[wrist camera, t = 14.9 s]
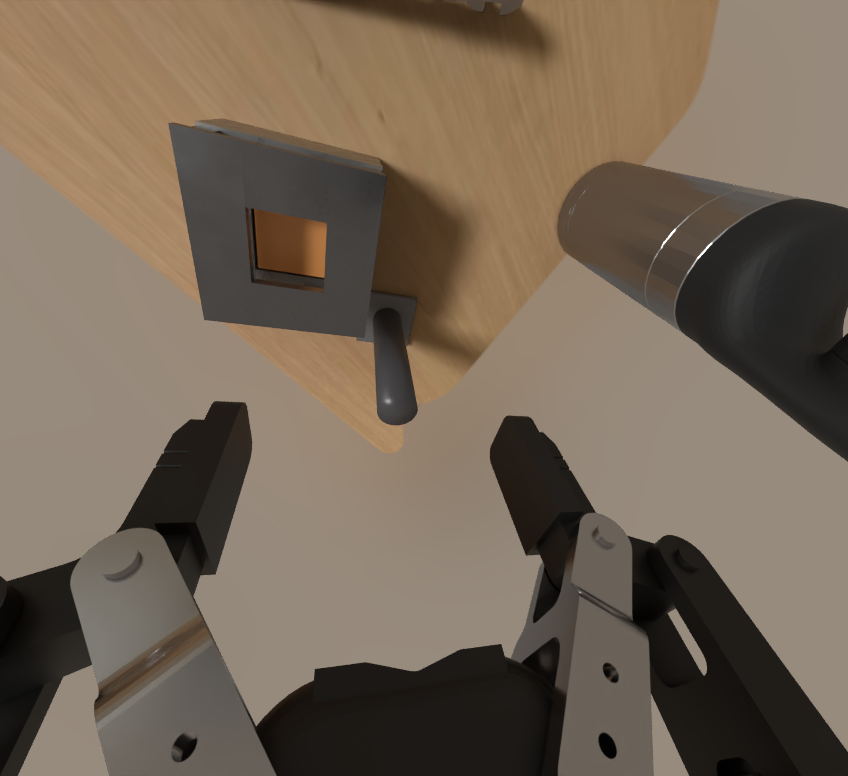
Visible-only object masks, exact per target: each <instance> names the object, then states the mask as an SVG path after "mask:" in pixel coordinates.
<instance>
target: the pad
mask: <svg viewBox="0 0 848 776" xmlns="http://www.w3.org/2000/svg"><path fill="white" fill-rule="evenodd" d="M416 305H417V298H414V297H407V296H401V295H394V294H387V293H381V292H374V291H371V295H370V303H369V310H368V317H367V324H366V332H365V338H359V337H357V341H365V342H374V337H373V317H374V315H375V313H376V312H377V311H378V310H380V309H383V308H391V309H394V310H395V311H397V312H398V313H399V315H400V317H401V322H402V327H403V333H404V338H405V343H406V346H407V344H408V340H409V336H410V331H411V327H412V322H413V318H414V314H415V309H416Z"/></svg>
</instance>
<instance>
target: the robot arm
mask: <svg viewBox="0 0 848 776" xmlns="http://www.w3.org/2000/svg"><path fill="white" fill-rule="evenodd" d="M558 237H559V241H560V244H561V246H562V248H563V249H564V251H566V252H567V253H568V254H569V255H570V256H571V257H573V258H574V259H576V260H577V261H579V262H580V263H582V264H583V265H585V266H586V267H587V268H588V269H590V270H592V271H593V272H594V273H596V274H597V275H599V276H600V277H602V278H603V279H605V280H606V281H607V282H609V283H610V284H612V285H614V286H615V287H616V288H618V289H619V290H621V291H622V292H623V293H625V294H626V295H628V296H629V297H631V298H632V299H634V300H635V301H637V302H638V303H640V304H641V305H643V306H644V307H645V308H647V309H648V310H650V311H651V312H653V313H654V314H656V315H657V316H659V317H661V318H662V319H663V320H665V321H666V322H668V323H669V324H671V325H672V326H673V327H675V328H676V329H678V330H679V331H681V332H682V333H684V334H685V335H686V336H688V337H689V338H690V339H692V340H693V341H695V342H696V343H698V344H699V345H700V346H701V347H702V348H703V349H704V350H705V351H706V352H707V353H708V354H709V355H711V356H712V357H713V358H714V359H715V360H717V361H718V362H720V363H721V364H722V365H724V366H725V367H727V368H728V369H730V370H731V371H732V372H734V373H735V374H737V375H738V376H739V377H741V378H742V379H743V380H744V381H746V382H747V383H748V384H749V385H751V386H752V387H753V388H755V389H756V390H757V391H759V392H760V393H761V394H763V395H764V396H765V397H766V398H767V399H769V400H770V401H771V402H772V403H774V404H775V405H776V406H777V407H778V408H780V409H781V410H782V411H784V412H785V413H786V414H787V415H788V416H790V417H791V418H792V419H793V420H795V421H796V422H797V423H798V424H800V425H801V426H802V427H803V428H804V429H806V430H807V431H808V432H809V433H811V434H812V435H813V436H815V437H816V438H817V439H819V440H820V441H821V442H822V443H824V444H825V445H826V446H828V447H829V448H830V449H832V450H833V451H834V452H836V453H837V454H838V455H840V456H841V457H842V458H844V459H845V460H846V461H848V334H846V335H845V336H844V337H843V324H844V318H845V314H846V311H847V307H848V209H847V208H844V207H841V206H837V205H833V204H829V203H824V202H819V201H814V200H809V199H803V198H798V197H793V196H789V195H784V194H779V193H774V192H769V191H764V190H757V189H753V188H748V187H743V186H738V185H733V184H728V183H723V182H718V181H713V180H709V179H704V178H699V177H694V176H689V175H684V174H679V173H674V172H670V171H665V170H660V169H655V168H651V167H646V166H642V165H637V164H632V163H627V162H609V163H605V164H602V165H600V166H598V167H596V168H594V169H593V170H591V171H590V172H588V173H587V174H586V175H584V176H583V177H582V178H581V179H580V180H579V181H578V182H577V183H576V184H575V186H574V187H573V188H572V190H571V191H570V192H569V194H568V196H567V197H566V199H565V201H564V203H563V205H562V208H561V211H560V214H559V219H558ZM251 452H252V437H251V430H250V424H249V418H248V411H247V406H246V404H245V403H243V402H219V401H215V402H214V403H213V404H212V405H211V407H210V409H209V411H208V413H207V415H206V417H205V419H204V420H193V419H191V420H189V421H188V422H187V423H186V424H184V425H183V426H182V427H181V428H179V429H178V430H177V431H176V432H175V433H174V434H173V435H172V437H171V439H170V441H169V442H168V444H167V446H166V448H165V449H164V454H162V455H161V457H160V458H159V460H158V462H157V464H156V468H154V469H153V471H152V473H151V475H150V476H149V478H148V480H147V482H146V483H145V485H144V487H143V489H142V491H141V492H140V494H139V496H138V498H137V499H136V501H135V503H134V505H133V506H132V508H131V510H130V512H129V514H128V515H127V517H126V519H125V521H124V522H123V524H122V525H121V527H120V528H119V530H118V531H117V532H116V533H115V534H113V535H110V536H109V537H107V538H105V539H103V540H102V541H100V542H99V543H97V544H96V545H94V546H93V547H92V548H91V549H89V550H88V551H87V552H86V554H84V555H83V557H82V558H79V559H77V560H75V561H72V562H69V563H67V564H64V565H60V566H57V567H54V568H50V569H47V570H44V571H41V572H37V573H34V574H30V575H27V576H24V577H20V578H17V579H13V580H10V581H6V580H4V579H3V578H2V577H1V576H0V776H18V774H19V772H20V769H21V767H22V765H23V763H24V761H25V759H26V756H27V754H28V752H29V750H30V748H31V746H32V743H33V741H34V739H35V737H36V735H37V733H38V730H39V728H40V726H41V724H42V722H43V720H44V717H45V715H46V713H47V710H48V709H49V707H50V704H51V702H52V700H53V698H54V695H55V693H56V691H57V689H58V687H59V685H60V683H61V680H62V678H63V676H66V675H68V674H71V673H73V672H75V671H78V670H80V669H82V668H85V667H88V666H90V665H93V669H94V672H95V676H96V679H97V683H98V688H99V695H98V698H97V699H96V700H95V704H94V715H95V721H96V726H97V731H98V735H99V738H100V742H101V746H102V750H103V753H104V757H105V761H106V765H107V769H108V772H109V776H653V748H652V747H653V746H652V718H651V694H652V696H653V698H654V701H655V703H656V705H657V707H658V709H659V711H660V713H661V716H662V718H663V720H664V722H665V724H666V727H667V729H668V731H669V733H670V735H671V737H672V740H673V742H674V744H675V746H676V748H677V750H678V753H679V755H680V757H681V759H682V761H683V763H684V765H685V768H686V770H687V772H688V774H689V776H848V752H847V750H846V749H845V748H844V746H843V745H842V743H841V742H840V741H839V739H838V738H837V737H836V735H835V734H834V733H833V731H832V730H831V728H830V727H829V726H828V724H827V723H826V722H825V720H824V719H823V718H822V716H821V715H820V713H819V712H818V711H817V709H816V708H815V707H814V705H813V704H812V702H811V701H810V700H809V698H808V697H807V696H806V694H805V693H804V691H803V690H802V689H801V687H800V686H799V685H798V683H797V682H796V681H795V679H794V678H793V676H792V675H791V674H790V672H789V671H788V669H787V668H786V667H785V665H784V664H783V663H782V661H781V660H780V659H779V657H778V656H777V654H776V653H775V652H774V650H773V649H772V648H771V646H770V645H769V643H768V642H767V641H766V639H765V638H764V637H763V635H762V634H761V632H760V631H759V630H758V628H757V627H756V626H755V624H754V623H753V622H752V620H751V619H750V617H749V616H748V615H747V614H746V612H745V611H744V609H743V608H742V606H741V605H740V604H739V603H738V601H737V600H736V598H735V597H734V595H733V594H732V593H731V592H730V590H729V589H728V587H727V586H726V584H725V583H724V582H723V580H722V579H721V578H720V576H719V575H718V573H717V572H716V571H715V570H714V568H713V567H712V565H711V564H710V563H709V561H708V560H707V559H706V558H705V556H704V555H703V554H702V553H701V552H700V551H699V550H698V549H697V548H696V547H695V546H693V545H692V544H691V543H689V542H688V541H685V540H684V539H682V538H679V537H677V536H673V535H666V536H663V537H662V538H661V539H660V540H658V541H657V542H656V543H655V544H654V543H650V542H647V541H643V540H640V539H636V538H633V537H630V536H627V535H626V533H625V532H624V531H623V529H621V527H620V526H619V525H618V524H617V523H615V522H614V521H613V520H611V519H610V518H608V517H606V516H604V515H601V514H598V513H596V512H595V510H594V509H593V507H592V506H591V504H590V502H589V500H588V499H587V497H586V495H585V494H584V492H583V490H582V489H581V487H580V485H579V484H578V482H577V480H576V479H575V477H574V475H573V473H572V472H571V471H570V470H569V467H568V465H567V463H566V462H565V460H563V456H562V455H561V453H560V451H559V450H558V448H557V446H556V445H555V444H554V442H552V441H551V440H550V439H549V438H548V437H547V436H546V435H545V434H544V433H542V432H539V431H538V429H537V427H536V425H535V424H534V422H533V420H532V419H531V418H530V417H525V416H506V417H505V418H504V420H503V422H502V424H501V426H500V428H499V430H498V433H497V435H496V437H495V439H494V441H493V443H492V445H491V448H490V461H491V465H492V467H493V470H494V472H495V475H496V478H497V480H498V483H499V486H500V488H501V491H502V493H503V496H504V499H505V502H506V504H507V507H508V509H509V512H510V515H511V517H512V520H513V523H514V525H515V528H516V531H517V533H518V536H519V538H520V541H521V544H522V546H523V549H524V551H525V554H526V555H540V556H541V558H542V561H543V562H542V564H541V565H540V567H539V571H538V575H537V579H536V583H535V587H534V591H533V596H532V600H531V604H530V608H529V612H528V617H527V620H526V624H525V627H524V630H523V632H522V634H521V636H520V638H519V640H518V641H517V643H516V646H515V649H514V651H513V654H512V657H511V659H510V658H507V657H505V656H504V652H503V649H502V645H501V644H498V645H491V646H483V647H476V648H468V649H462V650H458V651H456V652H455V653H453V654H451V655H449V656H447V657H445V658H443V659H441V660H439V661H437V662H435V663H433V664H431V665H429V666H427V667H425V668H423V669H422V670H419V671H407V670H402V669H397V668H392V667H387V666H381V665H377V664H371V663H366V662H365V663H357V664H351V665H343V666H336V667H328V668H320V669H315V675H314V681H312V682H310V683H308V684H305V685H304V686H302V687H300V688H299V689H297V690H295V691H294V692H292V693H291V694H289V695H288V696H287V697H286V698H284V699H283V700H282V701H281V702H279V703H278V704H277V705H276V706H275V707H274V708H273V709H272V710H271V711H270V712H269V713H268V714H267V715H266V716H265V717H264V718H263V719H262V720H261V721H260V723H259V724H258V725H257V726H256V725H255V723H254V721H253V719H252V717H251V715H250V713H249V711H248V709H247V707H246V704H245V703H244V700H243V698H242V696H241V694H240V692H239V690H238V688H237V686H236V684H235V682H234V680H233V678H232V676H231V674H230V672H229V670H228V668H227V666H226V663H225V661H224V659H223V657H222V655H221V653H220V651H219V649H218V647H217V645H216V643H215V641H214V639H213V636H212V634H211V632H210V630H209V628H208V626H207V624H206V622H205V620H204V618H203V616H202V614H201V612H200V609H199V608H198V605H197V604H196V601H195V599H194V597H193V596H194V593H195V590H196V587H197V584H198V581H199V578H200V575H212V574H216V571H217V567H218V564H219V561H220V558H221V555H222V551H223V548H224V545H225V541H226V538H227V534H228V531H229V528H230V525H231V521H232V518H233V515H234V512H235V508H236V504H237V501H238V498H239V495H240V492H241V488H242V485H243V482H244V478H245V475H246V472H247V468H248V465H249V462H250V458H251ZM675 608H676V609H677V611H678V612H679V614H680V616H681V618H682V619H683V621H684V623H685V624H686V626H687V628H688V629H689V631H690V633H691V634H692V636H693V638H694V639H695V641H696V643H697V644H698V646H699V648H700V650H701V651H702V653H703V655H704V657H705V659H706V663H707V673H706V675H705V676H704V675H703V674H702V673H701V671H700V670H699V668H698V666H697V665H696V663H695V661H694V659H693V657H692V656H691V654H690V652H689V650H688V649H687V647H686V645H685V643H684V642H683V640H682V638H681V636H680V635H679V633H678V631H677V629H676V628H675V626H674V624H673V622H672V621H671V619H670V617H669V615H668V614H667V613H669V612H670V611H672V610H674V609H675Z"/></svg>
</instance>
